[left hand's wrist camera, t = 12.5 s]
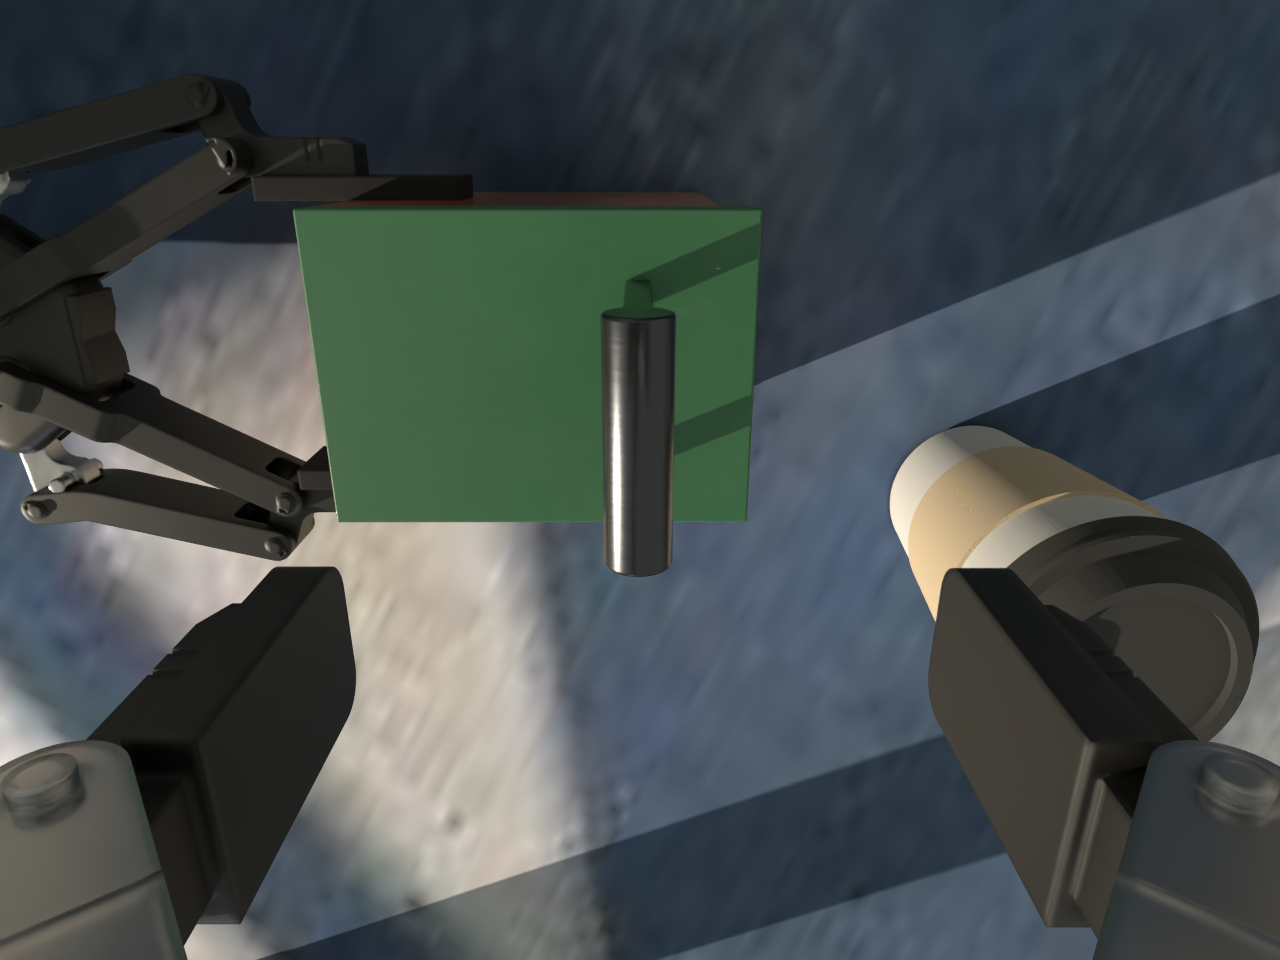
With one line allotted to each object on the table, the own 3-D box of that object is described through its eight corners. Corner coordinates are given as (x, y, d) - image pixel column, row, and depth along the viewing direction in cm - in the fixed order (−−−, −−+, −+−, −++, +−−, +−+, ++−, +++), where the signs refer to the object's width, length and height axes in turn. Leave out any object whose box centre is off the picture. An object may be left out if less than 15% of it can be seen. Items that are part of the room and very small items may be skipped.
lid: (756, 205, 24) (813, 229, 16) (742, 506, 27) (783, 644, 19) (308, 205, 24) (151, 228, 16) (350, 506, 27) (236, 644, 19)
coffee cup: (1076, 398, 37) (1346, 546, 23) (1048, 580, 40) (1268, 808, 26) (870, 406, 37) (1012, 558, 23) (859, 587, 40) (977, 818, 26)
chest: (698, 191, 34) (724, 205, 24) (693, 411, 37) (713, 506, 27) (408, 191, 34) (309, 205, 24) (429, 411, 37) (350, 506, 27)
